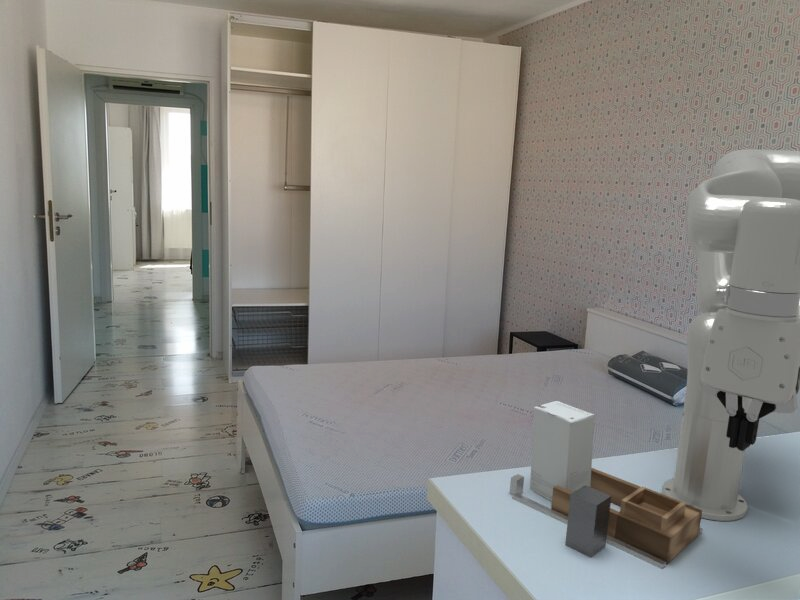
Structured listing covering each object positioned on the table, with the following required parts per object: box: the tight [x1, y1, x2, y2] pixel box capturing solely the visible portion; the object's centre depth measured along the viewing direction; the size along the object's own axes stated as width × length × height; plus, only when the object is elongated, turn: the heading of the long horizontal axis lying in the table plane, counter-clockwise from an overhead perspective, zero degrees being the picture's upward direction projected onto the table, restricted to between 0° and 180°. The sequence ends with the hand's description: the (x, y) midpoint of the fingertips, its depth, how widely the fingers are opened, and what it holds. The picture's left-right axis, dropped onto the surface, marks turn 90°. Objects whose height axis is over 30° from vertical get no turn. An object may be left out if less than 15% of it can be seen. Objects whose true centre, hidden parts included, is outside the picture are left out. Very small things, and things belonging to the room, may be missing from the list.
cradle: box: [550, 467, 702, 566], centre depth 95 cm, size 11×18×6 cm, turn 44°
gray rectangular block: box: [565, 485, 612, 558], centre depth 89 cm, size 4×4×8 cm
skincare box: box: [529, 400, 596, 502], centre depth 103 cm, size 8×6×15 cm
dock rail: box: [509, 473, 704, 570], centre depth 98 cm, size 14×26×3 cm, turn 44°
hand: (739, 446), depth 80 cm, fingers closed
